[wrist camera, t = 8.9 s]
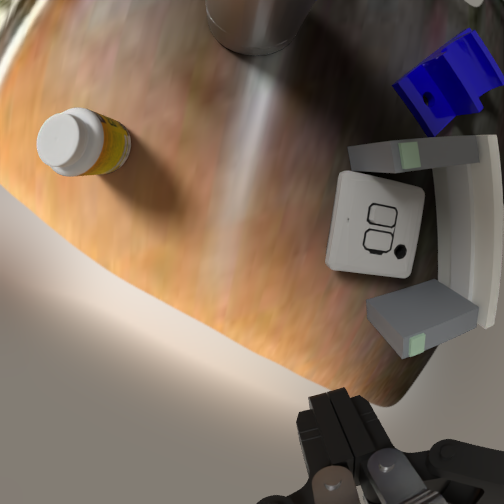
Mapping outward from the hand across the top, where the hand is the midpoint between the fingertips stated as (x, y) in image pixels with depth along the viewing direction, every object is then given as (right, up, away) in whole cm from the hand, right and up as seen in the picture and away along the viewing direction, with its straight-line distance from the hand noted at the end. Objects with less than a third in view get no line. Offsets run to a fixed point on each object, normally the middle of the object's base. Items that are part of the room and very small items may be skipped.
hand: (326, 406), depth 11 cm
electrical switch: (+13, +9, +21) cm, 26 cm away
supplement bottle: (-17, +17, +16) cm, 29 cm away
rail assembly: (+14, +9, +21) cm, 26 cm away
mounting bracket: (+21, +28, +17) cm, 39 cm away
